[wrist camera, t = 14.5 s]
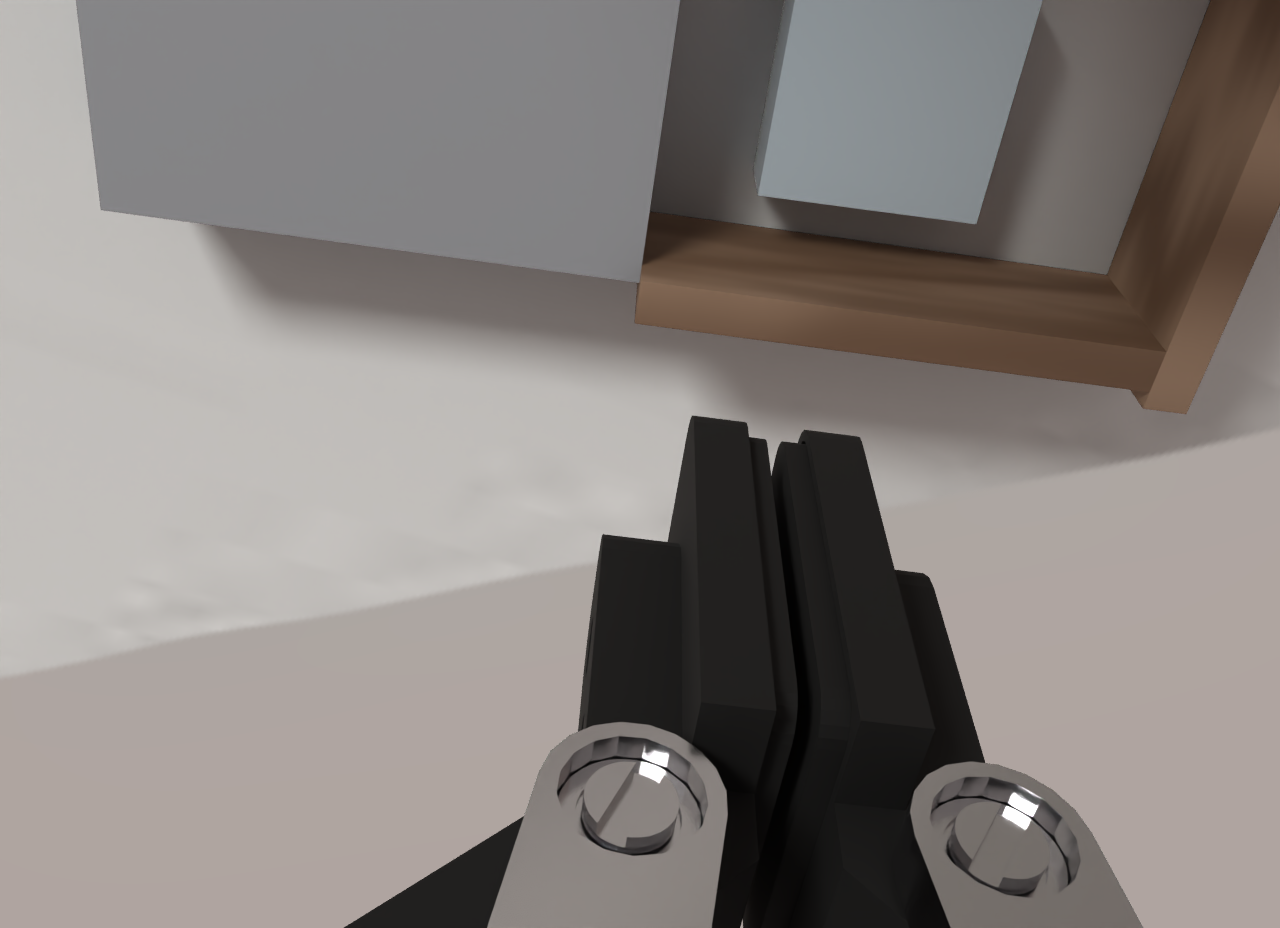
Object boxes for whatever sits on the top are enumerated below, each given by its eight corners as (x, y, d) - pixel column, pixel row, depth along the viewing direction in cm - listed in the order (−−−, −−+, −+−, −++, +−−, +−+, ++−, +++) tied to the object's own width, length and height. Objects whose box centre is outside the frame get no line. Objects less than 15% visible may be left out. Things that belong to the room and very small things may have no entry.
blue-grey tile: (1045, -9, 29) (1019, -27, 31) (802, -44, 28) (793, -60, 30) (976, 224, 32) (957, 193, 34) (757, 195, 31) (752, 165, 34)
